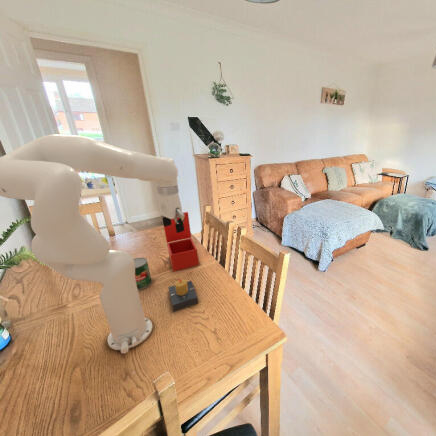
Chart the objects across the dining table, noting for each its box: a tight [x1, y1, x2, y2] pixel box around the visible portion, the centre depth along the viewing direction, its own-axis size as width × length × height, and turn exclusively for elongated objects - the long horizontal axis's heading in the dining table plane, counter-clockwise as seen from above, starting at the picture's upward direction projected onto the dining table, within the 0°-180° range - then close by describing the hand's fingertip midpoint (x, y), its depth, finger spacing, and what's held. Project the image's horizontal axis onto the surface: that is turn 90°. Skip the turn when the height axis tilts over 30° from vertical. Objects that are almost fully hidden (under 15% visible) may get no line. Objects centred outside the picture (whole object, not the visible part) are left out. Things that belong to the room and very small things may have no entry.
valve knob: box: [174, 278, 188, 296], centre depth 95 cm, size 4×4×5 cm
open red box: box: [166, 237, 200, 272], centre depth 119 cm, size 14×12×9 cm
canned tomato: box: [134, 257, 153, 291], centre depth 102 cm, size 8×8×11 cm
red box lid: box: [163, 211, 192, 243], centre depth 122 cm, size 14×12×6 cm
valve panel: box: [167, 280, 199, 312], centre depth 96 cm, size 12×9×3 cm
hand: (173, 228), depth 101 cm, fingers open, 9 cm apart
